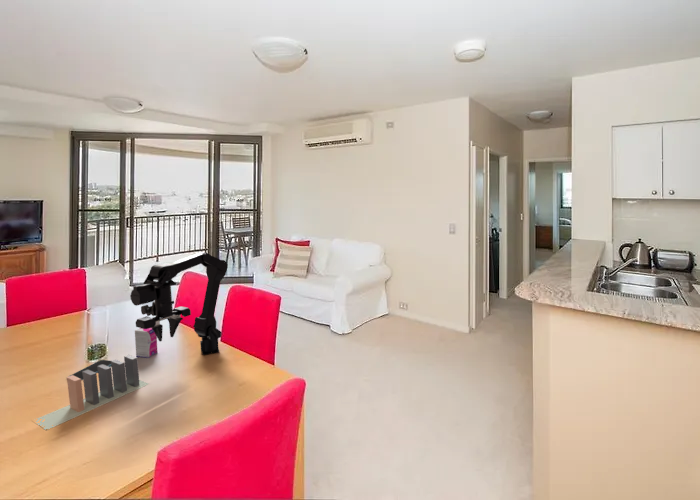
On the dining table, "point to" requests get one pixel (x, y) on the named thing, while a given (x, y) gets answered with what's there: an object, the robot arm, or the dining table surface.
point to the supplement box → (145, 342)
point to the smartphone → (92, 368)
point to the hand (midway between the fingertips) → (166, 339)
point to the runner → (69, 413)
